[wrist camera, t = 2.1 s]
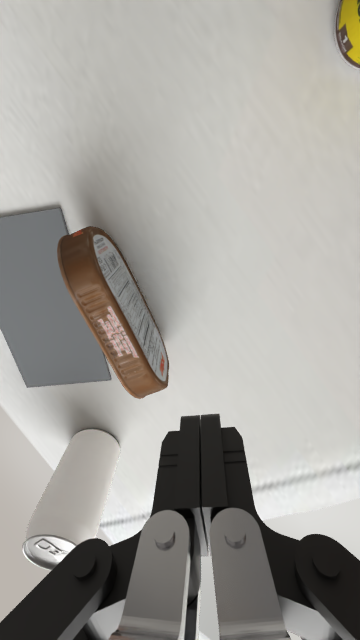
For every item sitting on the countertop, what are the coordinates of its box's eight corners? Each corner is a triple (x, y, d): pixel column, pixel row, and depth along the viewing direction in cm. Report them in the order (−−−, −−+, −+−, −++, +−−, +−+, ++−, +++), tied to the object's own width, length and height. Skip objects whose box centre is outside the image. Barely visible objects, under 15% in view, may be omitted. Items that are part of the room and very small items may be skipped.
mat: (-44, 224, 26) (-46, 225, 25) (60, 207, 25) (59, 207, 24) (28, 385, 33) (27, 387, 33) (111, 378, 32) (110, 380, 32)
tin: (80, 230, 25) (30, 247, 18) (111, 216, 25) (73, 227, 17) (150, 364, 31) (135, 421, 23) (177, 355, 30) (170, 411, 23)
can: (99, 470, 38) (60, 581, 27) (61, 443, 37) (3, 550, 26) (131, 448, 36) (103, 559, 25) (92, 418, 34) (44, 523, 24)
